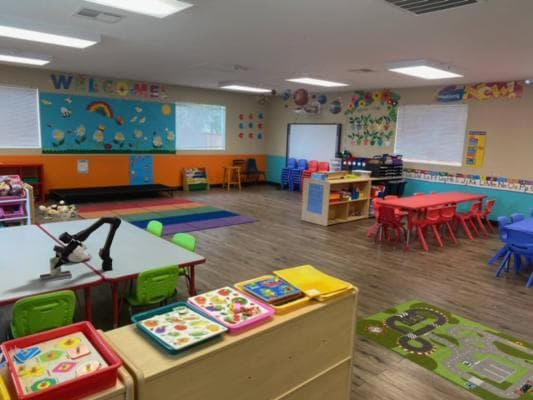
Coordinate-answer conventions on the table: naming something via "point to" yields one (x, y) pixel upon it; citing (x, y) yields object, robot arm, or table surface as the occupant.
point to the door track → (53, 278)
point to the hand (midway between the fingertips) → (53, 266)
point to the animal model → (79, 255)
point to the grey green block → (54, 270)
